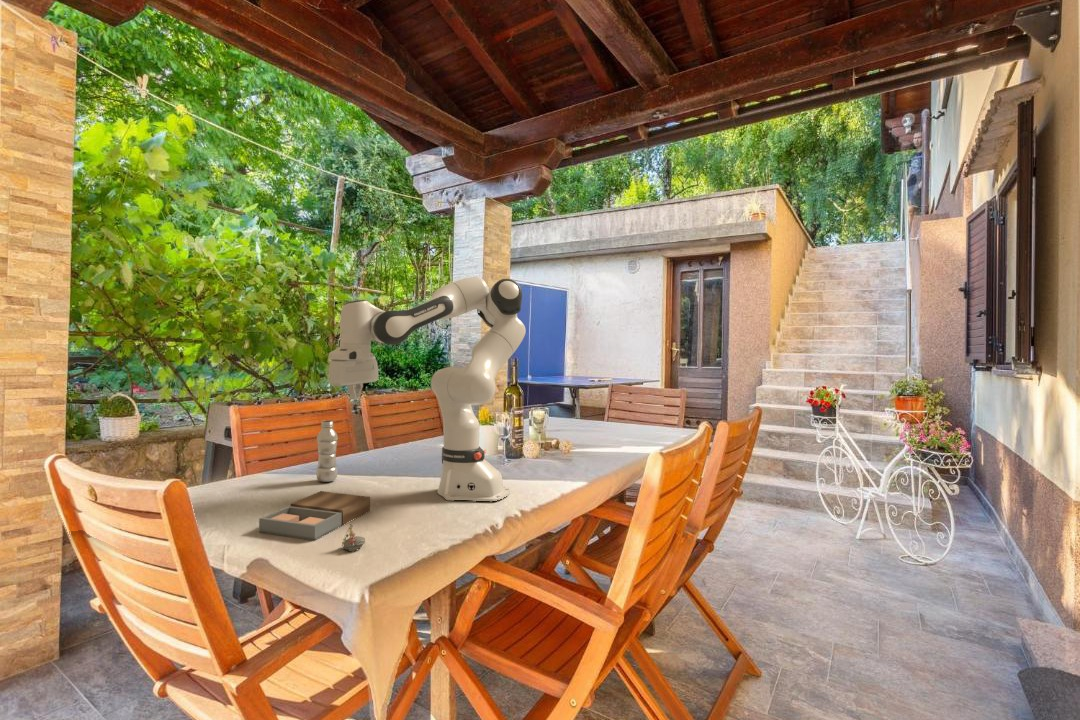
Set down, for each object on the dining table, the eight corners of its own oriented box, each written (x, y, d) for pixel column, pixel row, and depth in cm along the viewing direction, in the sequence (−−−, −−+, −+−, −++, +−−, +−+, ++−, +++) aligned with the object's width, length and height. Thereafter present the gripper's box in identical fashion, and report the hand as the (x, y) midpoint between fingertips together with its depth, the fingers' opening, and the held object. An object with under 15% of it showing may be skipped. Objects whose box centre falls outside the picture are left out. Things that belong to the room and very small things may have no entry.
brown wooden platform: (369, 511, 147) (370, 496, 147) (342, 525, 136) (342, 510, 135) (320, 504, 151) (320, 491, 151) (290, 518, 140) (290, 503, 140)
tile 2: (311, 526, 127) (311, 536, 127) (326, 519, 131) (326, 529, 131) (295, 523, 128) (295, 533, 128) (309, 516, 133) (309, 526, 133)
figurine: (367, 543, 124) (363, 519, 123) (364, 552, 120) (360, 526, 119) (344, 547, 123) (340, 523, 123) (340, 556, 119) (335, 530, 118)
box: (341, 526, 135) (341, 512, 135) (314, 540, 125) (314, 526, 125) (288, 519, 139) (288, 506, 139) (259, 532, 130) (259, 518, 130)
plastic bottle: (328, 477, 180) (328, 419, 179) (341, 480, 176) (342, 421, 175) (311, 482, 174) (312, 421, 173) (325, 485, 171) (325, 423, 170)
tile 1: (283, 522, 129) (283, 532, 129) (299, 515, 133) (299, 525, 134) (267, 519, 130) (267, 529, 130) (283, 513, 135) (283, 523, 135)
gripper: (366, 352, 172) (365, 394, 173) (324, 353, 153) (324, 401, 153) (383, 352, 171) (383, 395, 171) (343, 354, 151) (343, 403, 151)
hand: (354, 398), depth 162 cm, fingers closed
